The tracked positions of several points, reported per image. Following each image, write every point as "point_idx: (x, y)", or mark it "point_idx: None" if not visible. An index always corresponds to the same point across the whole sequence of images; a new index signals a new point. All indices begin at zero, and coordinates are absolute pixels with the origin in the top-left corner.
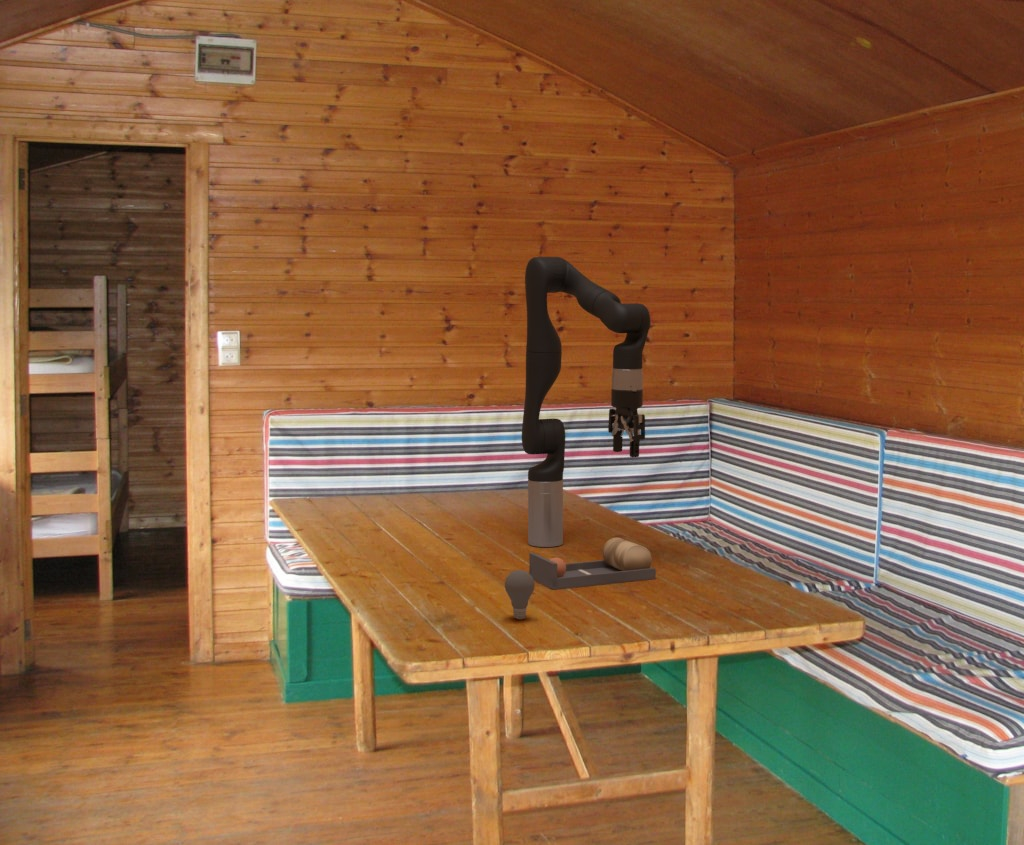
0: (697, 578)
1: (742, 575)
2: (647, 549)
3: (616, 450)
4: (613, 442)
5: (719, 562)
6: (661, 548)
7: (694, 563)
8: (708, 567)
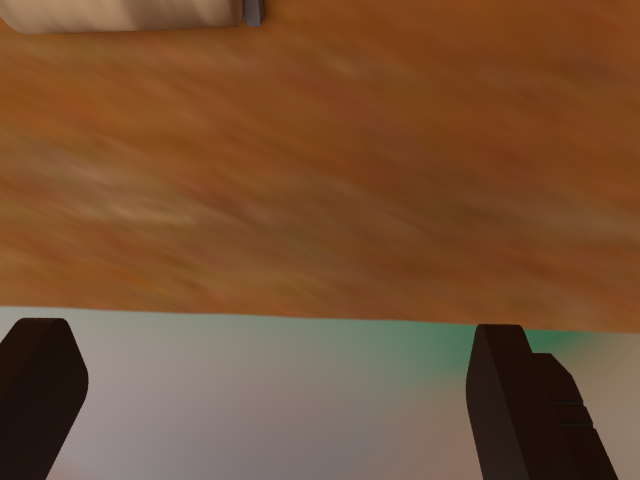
0: (47, 158)
1: (72, 279)
2: (5, 21)
3: (480, 352)
4: (543, 420)
5: (242, 301)
6: (487, 255)
7: (252, 242)
8: (189, 251)
